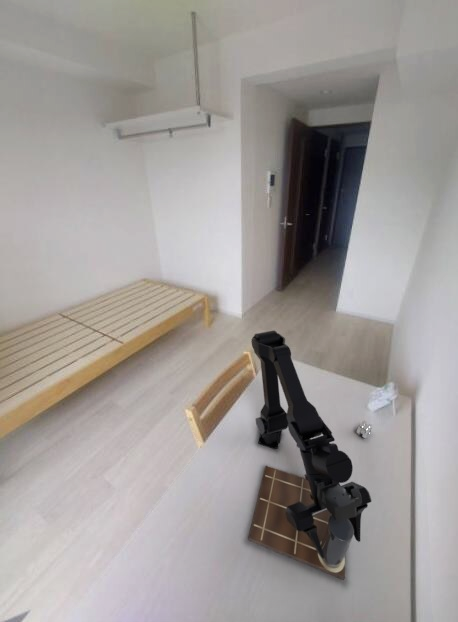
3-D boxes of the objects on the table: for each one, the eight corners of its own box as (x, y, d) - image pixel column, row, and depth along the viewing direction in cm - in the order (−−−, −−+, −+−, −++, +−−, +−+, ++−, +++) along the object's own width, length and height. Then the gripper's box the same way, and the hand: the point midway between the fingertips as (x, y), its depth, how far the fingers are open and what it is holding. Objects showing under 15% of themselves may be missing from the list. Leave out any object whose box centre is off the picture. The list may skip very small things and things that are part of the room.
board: (248, 540, 66) (248, 537, 66) (265, 468, 82) (265, 465, 81) (343, 580, 60) (345, 577, 59) (342, 493, 76) (343, 490, 75)
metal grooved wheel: (362, 427, 95) (365, 417, 92) (371, 433, 92) (374, 423, 90) (355, 435, 92) (358, 425, 89) (363, 441, 90) (367, 431, 87)
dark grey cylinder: (316, 556, 62) (324, 528, 56) (324, 535, 66) (333, 507, 60) (337, 574, 60) (349, 547, 53) (345, 552, 63) (357, 524, 57)
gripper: (297, 494, 52) (323, 592, 48) (375, 465, 57) (404, 551, 53) (276, 479, 63) (295, 558, 58) (344, 455, 67) (366, 526, 63)
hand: (340, 548), depth 58 cm, fingers open, 9 cm apart
